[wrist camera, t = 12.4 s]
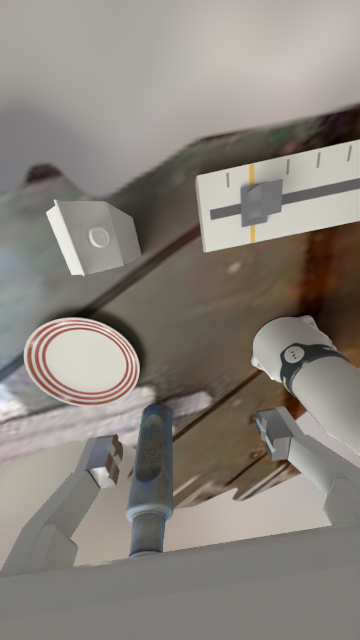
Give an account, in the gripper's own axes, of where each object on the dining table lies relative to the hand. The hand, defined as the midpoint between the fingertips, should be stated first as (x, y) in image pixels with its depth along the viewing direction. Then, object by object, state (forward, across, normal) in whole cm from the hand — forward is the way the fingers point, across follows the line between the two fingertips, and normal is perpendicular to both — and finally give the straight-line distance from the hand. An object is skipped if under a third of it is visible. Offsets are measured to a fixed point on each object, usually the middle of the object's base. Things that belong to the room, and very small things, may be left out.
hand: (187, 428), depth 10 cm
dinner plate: (+33, +25, +15) cm, 45 cm away
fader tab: (+29, -16, -13) cm, 36 cm away
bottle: (+33, +12, +39) cm, 53 cm away
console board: (+32, -22, -14) cm, 41 cm away
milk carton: (+33, +9, -12) cm, 36 cm away
